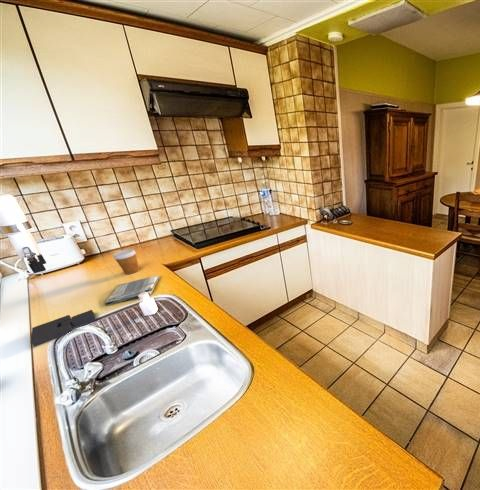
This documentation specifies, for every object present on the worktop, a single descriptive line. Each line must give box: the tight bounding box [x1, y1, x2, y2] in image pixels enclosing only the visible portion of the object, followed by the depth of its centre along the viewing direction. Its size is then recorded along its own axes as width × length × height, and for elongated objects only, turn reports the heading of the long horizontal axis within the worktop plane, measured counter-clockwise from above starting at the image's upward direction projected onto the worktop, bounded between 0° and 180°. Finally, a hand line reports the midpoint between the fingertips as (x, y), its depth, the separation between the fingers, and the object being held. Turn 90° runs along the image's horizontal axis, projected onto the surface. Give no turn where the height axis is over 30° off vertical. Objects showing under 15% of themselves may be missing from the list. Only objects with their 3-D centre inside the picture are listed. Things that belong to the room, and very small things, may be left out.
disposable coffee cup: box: [112, 248, 140, 275], centre depth 146 cm, size 10×10×12 cm
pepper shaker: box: [138, 292, 159, 317], centre depth 110 cm, size 4×4×10 cm
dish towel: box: [103, 275, 160, 307], centre depth 128 cm, size 19×18×3 cm
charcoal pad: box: [30, 314, 74, 348], centre depth 102 cm, size 12×10×3 cm
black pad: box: [61, 309, 97, 328], centre depth 107 cm, size 6×9×3 cm, turn 138°
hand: (40, 268), depth 106 cm, fingers open, 9 cm apart
